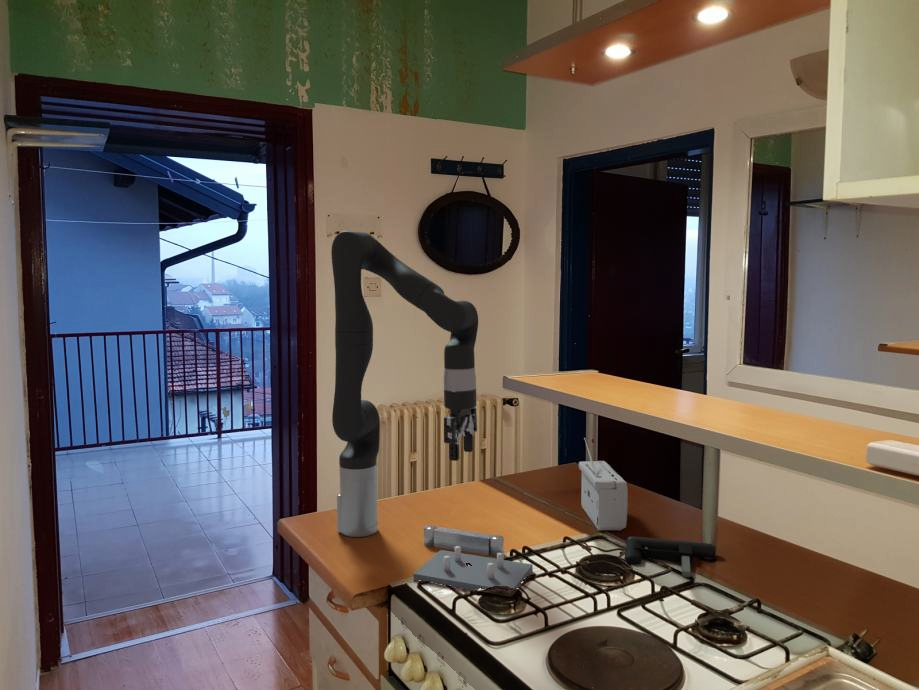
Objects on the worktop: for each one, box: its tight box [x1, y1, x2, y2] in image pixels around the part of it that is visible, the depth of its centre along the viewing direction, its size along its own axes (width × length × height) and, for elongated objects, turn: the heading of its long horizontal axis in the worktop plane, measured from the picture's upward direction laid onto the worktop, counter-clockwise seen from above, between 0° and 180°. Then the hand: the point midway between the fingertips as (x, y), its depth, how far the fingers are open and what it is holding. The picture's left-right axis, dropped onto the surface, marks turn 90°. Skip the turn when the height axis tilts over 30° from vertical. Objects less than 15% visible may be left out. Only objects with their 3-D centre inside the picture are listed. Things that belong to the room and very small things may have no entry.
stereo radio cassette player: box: [578, 437, 629, 532], centre depth 185 cm, size 21×8×20 cm, turn 3°
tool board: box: [412, 546, 534, 592], centre depth 151 cm, size 22×14×4 cm, turn 67°
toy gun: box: [624, 536, 717, 578], centre depth 158 cm, size 3×20×16 cm
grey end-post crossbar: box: [423, 525, 505, 558], centre depth 166 cm, size 20×3×4 cm, turn 67°
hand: (461, 455), depth 164 cm, fingers open, 8 cm apart
